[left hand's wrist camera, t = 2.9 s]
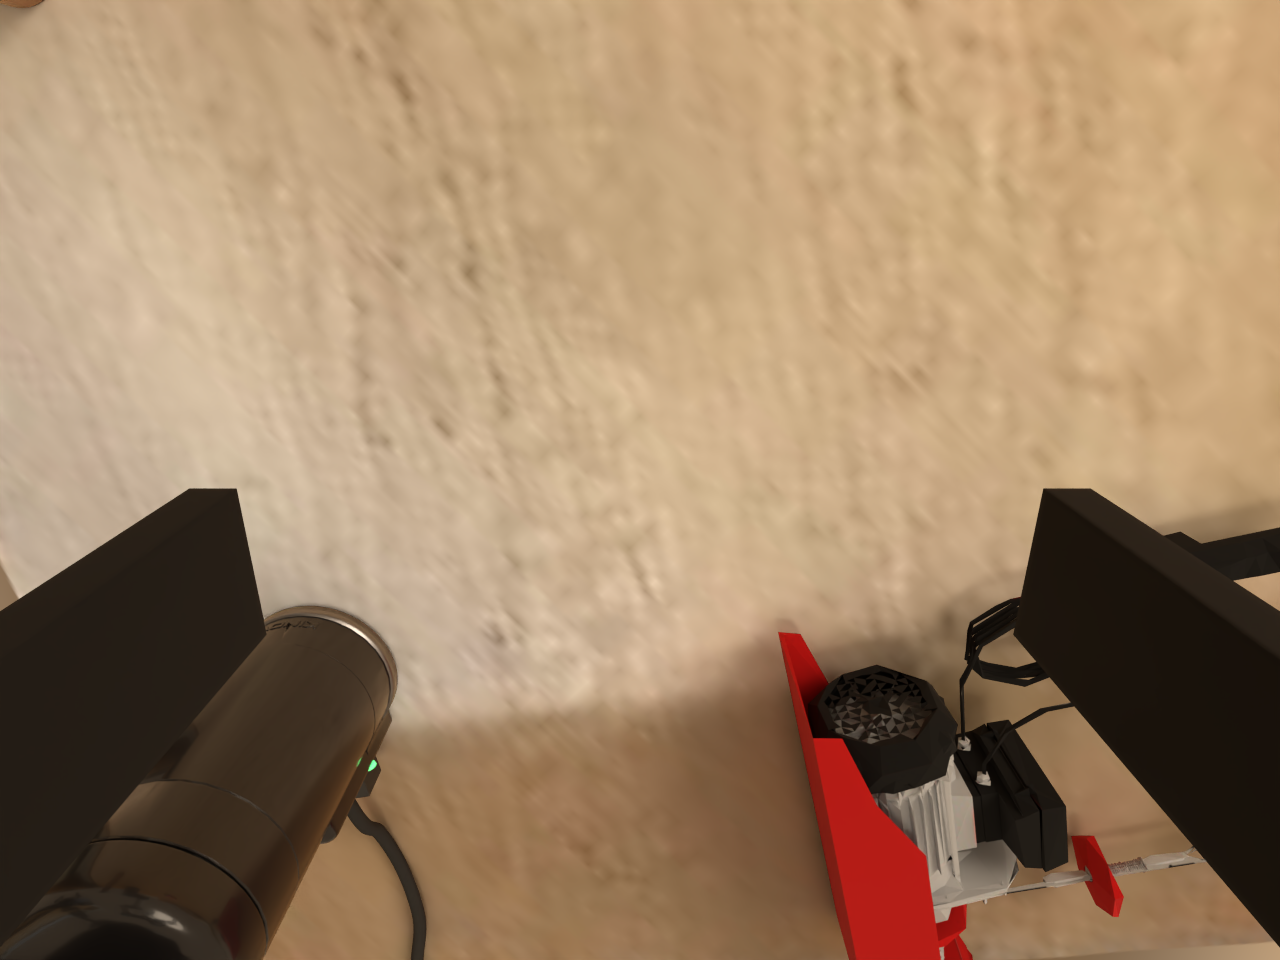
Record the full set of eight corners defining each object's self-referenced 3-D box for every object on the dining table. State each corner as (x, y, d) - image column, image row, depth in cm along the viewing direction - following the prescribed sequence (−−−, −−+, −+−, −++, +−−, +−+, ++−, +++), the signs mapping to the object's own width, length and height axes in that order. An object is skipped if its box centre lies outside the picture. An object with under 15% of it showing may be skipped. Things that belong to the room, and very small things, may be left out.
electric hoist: (1486, 594, 33) (809, 730, 35) (1392, 974, 43) (876, 1059, 46) (1296, 497, 42) (772, 610, 44) (1257, 830, 52) (834, 906, 55)
